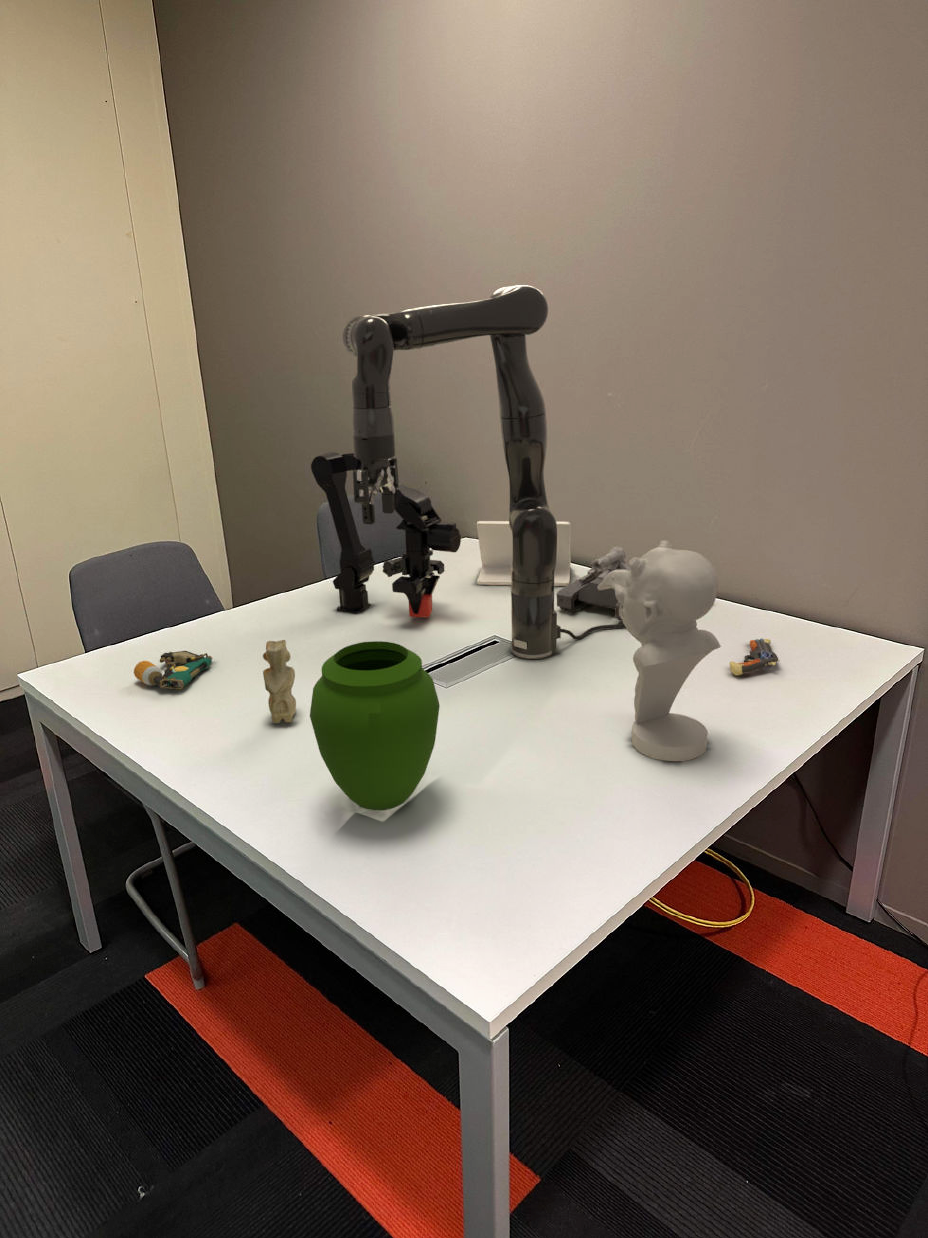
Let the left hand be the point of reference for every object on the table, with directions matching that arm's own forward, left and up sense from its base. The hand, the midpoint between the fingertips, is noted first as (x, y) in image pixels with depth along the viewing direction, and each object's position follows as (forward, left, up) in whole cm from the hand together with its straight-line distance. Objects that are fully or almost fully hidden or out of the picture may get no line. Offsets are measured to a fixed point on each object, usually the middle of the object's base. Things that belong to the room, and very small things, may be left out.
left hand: (420, 609), depth 209 cm
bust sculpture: (+66, -39, -2) cm, 77 cm away
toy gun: (+78, +3, -2) cm, 78 cm away
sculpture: (+1, -57, -2) cm, 57 cm away
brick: (0, 0, -1) cm, 1 cm away
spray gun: (-32, -50, -2) cm, 59 cm away
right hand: (+12, -37, +32) cm, 50 cm away
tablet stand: (+11, +40, -2) cm, 42 cm away
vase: (+33, -74, -2) cm, 81 cm away
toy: (+42, +26, -2) cm, 49 cm away
